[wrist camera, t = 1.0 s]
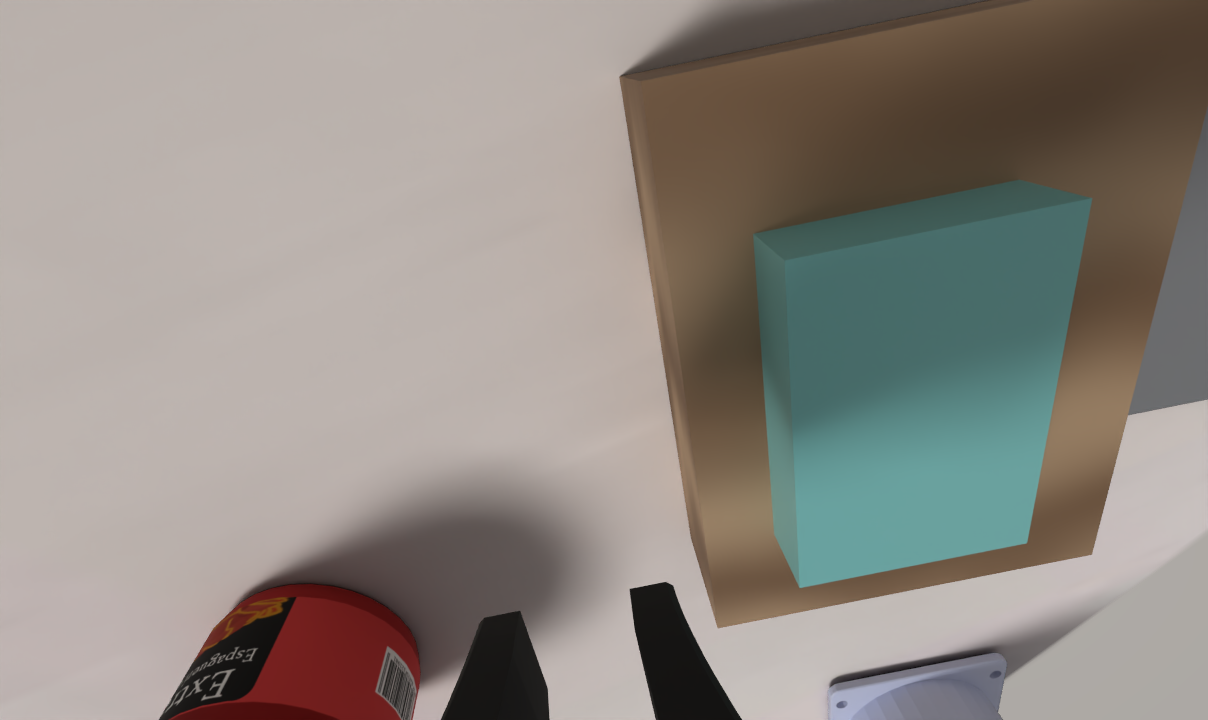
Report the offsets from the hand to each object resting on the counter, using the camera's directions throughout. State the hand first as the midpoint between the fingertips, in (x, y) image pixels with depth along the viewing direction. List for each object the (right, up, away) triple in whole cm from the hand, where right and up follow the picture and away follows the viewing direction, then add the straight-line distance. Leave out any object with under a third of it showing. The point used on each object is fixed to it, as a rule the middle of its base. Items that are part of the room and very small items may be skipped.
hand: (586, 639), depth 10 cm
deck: (+8, +6, +9) cm, 13 cm away
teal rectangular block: (+7, +4, +5) cm, 10 cm away
